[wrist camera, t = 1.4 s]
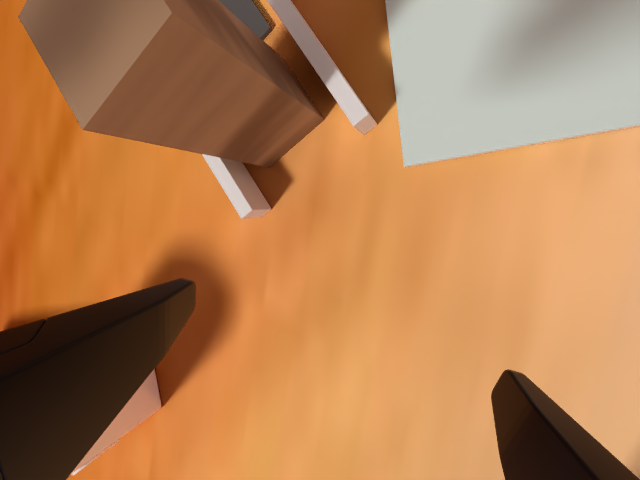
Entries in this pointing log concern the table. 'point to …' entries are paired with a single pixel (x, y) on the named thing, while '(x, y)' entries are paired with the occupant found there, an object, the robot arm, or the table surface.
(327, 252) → the table surface
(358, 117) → the channel
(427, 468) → the table surface
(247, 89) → the post
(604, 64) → the plate
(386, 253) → the table surface
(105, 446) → the jar
